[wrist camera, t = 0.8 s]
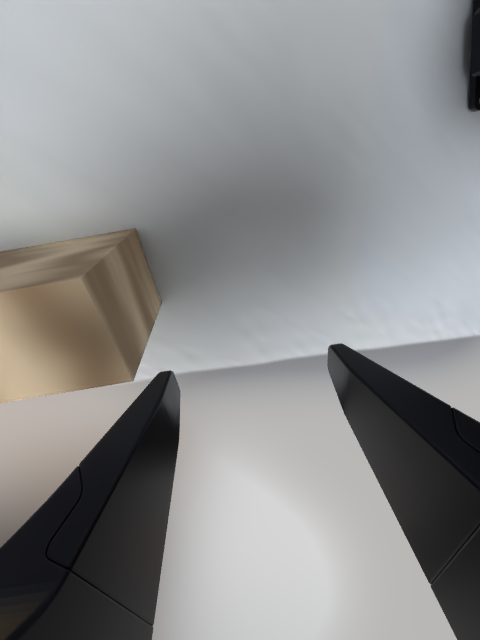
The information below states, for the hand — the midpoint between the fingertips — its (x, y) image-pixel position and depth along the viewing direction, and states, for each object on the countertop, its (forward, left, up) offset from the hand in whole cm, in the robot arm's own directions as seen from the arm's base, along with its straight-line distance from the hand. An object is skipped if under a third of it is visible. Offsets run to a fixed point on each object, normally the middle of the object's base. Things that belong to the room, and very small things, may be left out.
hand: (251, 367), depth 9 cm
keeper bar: (+14, -3, -13) cm, 19 cm away
